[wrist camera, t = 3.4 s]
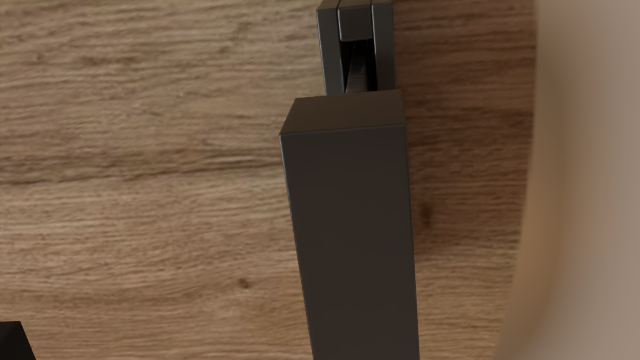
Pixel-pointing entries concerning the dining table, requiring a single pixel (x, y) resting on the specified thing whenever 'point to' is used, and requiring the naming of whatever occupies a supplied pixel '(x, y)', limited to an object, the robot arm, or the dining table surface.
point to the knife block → (351, 25)
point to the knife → (353, 219)
